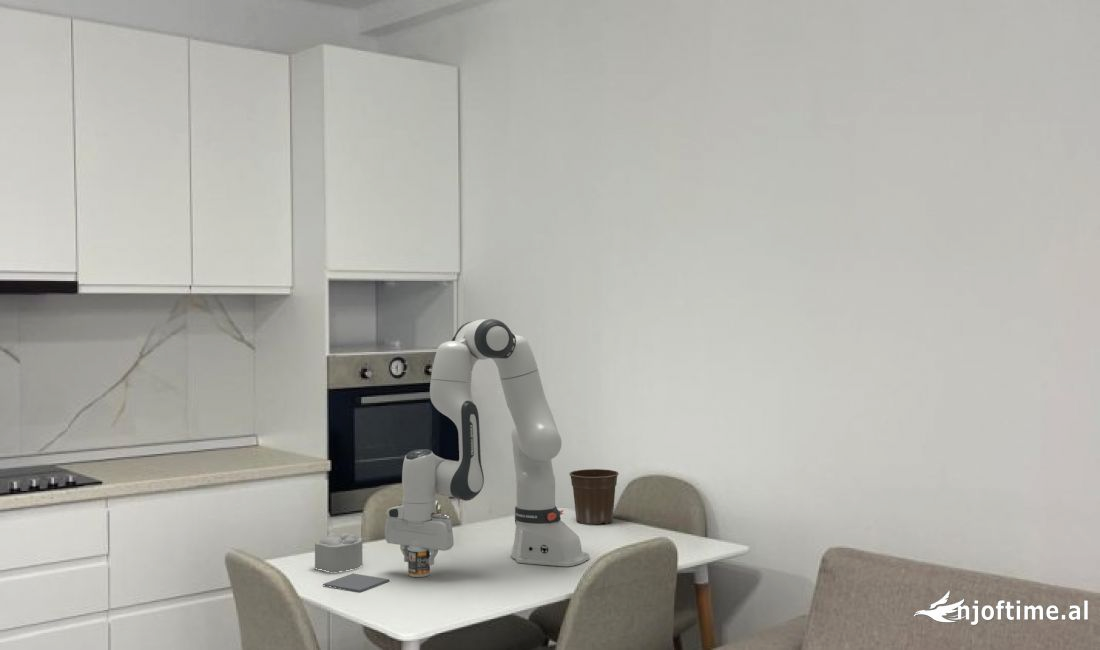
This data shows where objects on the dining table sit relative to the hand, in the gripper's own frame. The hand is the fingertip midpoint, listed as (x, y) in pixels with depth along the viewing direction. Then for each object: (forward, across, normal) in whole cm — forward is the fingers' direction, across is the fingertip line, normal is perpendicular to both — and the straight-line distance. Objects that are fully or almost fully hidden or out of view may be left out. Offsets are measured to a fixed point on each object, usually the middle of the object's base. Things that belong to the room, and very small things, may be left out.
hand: (419, 563), depth 287 cm
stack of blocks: (+4, +21, -34) cm, 40 cm away
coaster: (+3, +9, +15) cm, 18 cm away
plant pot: (+3, -10, -84) cm, 85 cm away
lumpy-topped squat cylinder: (+4, +24, +3) cm, 24 cm away
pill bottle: (+3, 0, 0) cm, 3 cm away
